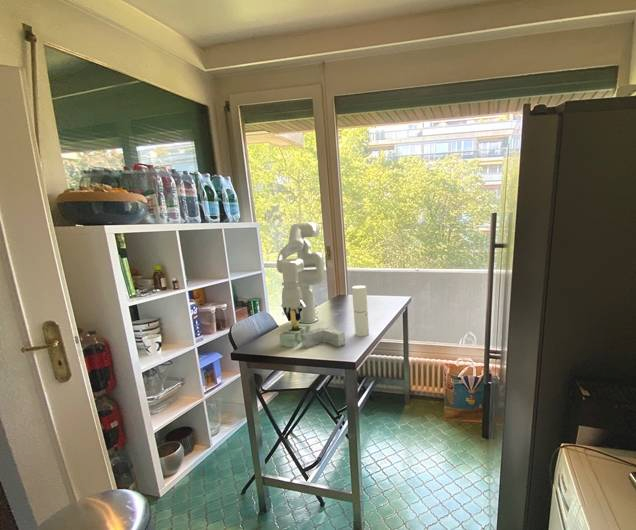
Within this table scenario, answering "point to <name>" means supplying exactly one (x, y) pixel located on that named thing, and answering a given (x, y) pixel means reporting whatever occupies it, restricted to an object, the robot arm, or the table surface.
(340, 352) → the table surface
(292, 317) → the axle
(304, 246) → the robot arm
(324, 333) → the v block
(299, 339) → the pale green slotted holder
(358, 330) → the cylindrical container
